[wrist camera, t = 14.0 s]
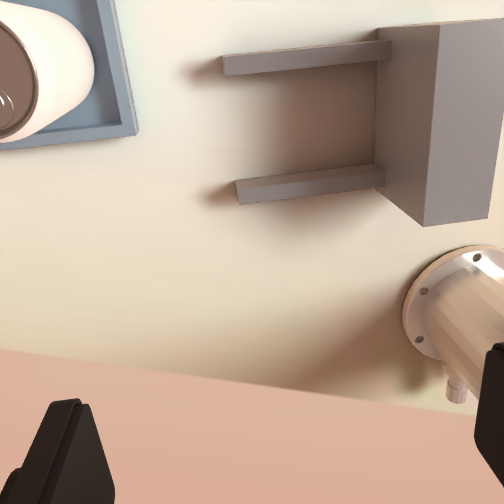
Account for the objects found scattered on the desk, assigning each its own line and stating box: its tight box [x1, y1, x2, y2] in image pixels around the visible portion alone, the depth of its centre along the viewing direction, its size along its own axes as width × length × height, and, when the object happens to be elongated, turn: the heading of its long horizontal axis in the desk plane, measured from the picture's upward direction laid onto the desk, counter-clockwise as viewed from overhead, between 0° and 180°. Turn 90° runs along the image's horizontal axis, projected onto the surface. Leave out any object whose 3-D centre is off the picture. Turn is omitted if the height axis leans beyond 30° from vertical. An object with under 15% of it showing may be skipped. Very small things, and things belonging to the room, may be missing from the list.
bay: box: [222, 18, 504, 227], centre depth 31 cm, size 12×16×9 cm
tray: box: [0, 0, 139, 150], centre depth 30 cm, size 11×11×2 cm
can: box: [0, 1, 94, 143], centre depth 25 cm, size 6×6×12 cm
